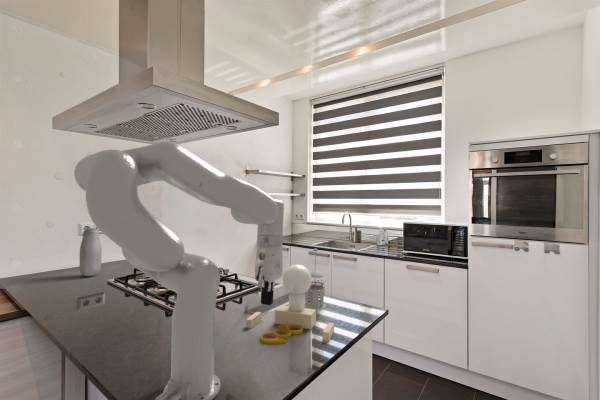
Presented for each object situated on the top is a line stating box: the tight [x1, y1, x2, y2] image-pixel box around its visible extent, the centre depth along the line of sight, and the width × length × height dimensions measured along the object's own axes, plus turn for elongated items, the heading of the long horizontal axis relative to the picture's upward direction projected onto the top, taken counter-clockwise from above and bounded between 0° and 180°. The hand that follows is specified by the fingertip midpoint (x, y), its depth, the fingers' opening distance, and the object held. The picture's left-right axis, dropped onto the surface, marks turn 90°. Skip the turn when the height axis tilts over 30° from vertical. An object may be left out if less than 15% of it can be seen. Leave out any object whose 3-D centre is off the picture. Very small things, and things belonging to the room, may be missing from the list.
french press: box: [305, 248, 327, 311], centre depth 129 cm, size 10×12×25 cm
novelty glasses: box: [259, 324, 304, 345], centre depth 101 cm, size 17×2×10 cm
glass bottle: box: [79, 227, 103, 277], centre depth 173 cm, size 10×10×28 cm
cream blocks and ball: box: [245, 263, 335, 343], centre depth 109 cm, size 16×30×22 cm, turn 71°
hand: (266, 303), depth 87 cm, fingers closed
